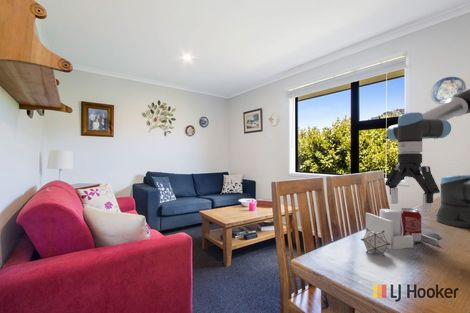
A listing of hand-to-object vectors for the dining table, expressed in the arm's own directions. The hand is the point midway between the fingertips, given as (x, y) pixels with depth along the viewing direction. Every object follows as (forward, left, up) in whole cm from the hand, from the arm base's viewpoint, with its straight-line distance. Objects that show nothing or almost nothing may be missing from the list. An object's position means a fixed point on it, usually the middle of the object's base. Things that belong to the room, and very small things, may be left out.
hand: (409, 207), depth 86 cm
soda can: (0, 0, -13) cm, 13 cm away
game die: (+22, +7, -13) cm, 26 cm away
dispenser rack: (+4, 0, -13) cm, 14 cm away
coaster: (-11, -4, -13) cm, 17 cm away
